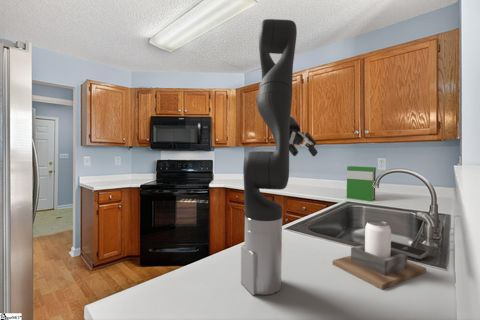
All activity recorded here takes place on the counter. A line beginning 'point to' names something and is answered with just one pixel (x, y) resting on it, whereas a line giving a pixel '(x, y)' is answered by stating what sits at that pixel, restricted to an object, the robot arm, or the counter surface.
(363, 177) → the green cereal box
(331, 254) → the counter surface
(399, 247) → the external hard drive
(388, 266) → the socket board
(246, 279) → the robot arm
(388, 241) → the can
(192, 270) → the counter surface
